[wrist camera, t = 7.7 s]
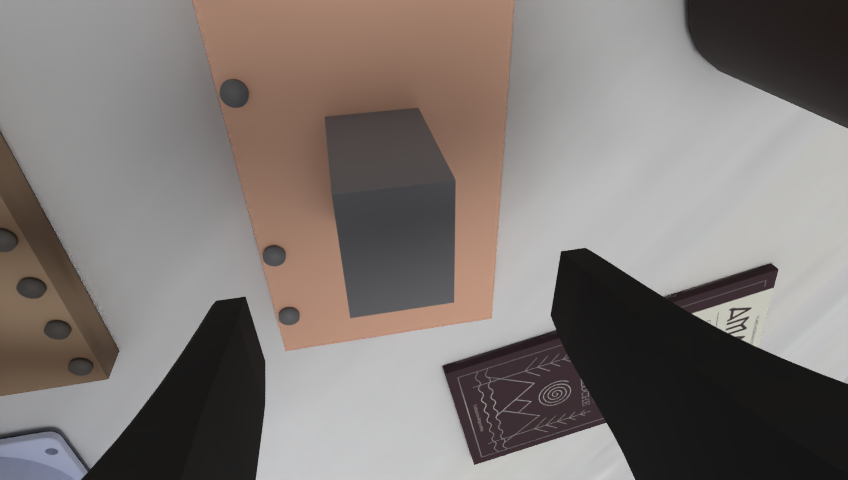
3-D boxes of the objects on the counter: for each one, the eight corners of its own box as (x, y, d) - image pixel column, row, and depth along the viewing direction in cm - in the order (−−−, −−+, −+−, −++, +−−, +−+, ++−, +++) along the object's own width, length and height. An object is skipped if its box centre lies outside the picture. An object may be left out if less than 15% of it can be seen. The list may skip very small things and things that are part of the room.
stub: (482, 296, 24) (532, 412, 19) (286, 325, 22) (281, 459, 17) (505, -123, 14) (618, -128, 9) (175, -114, 13) (90, -113, 8)
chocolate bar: (445, 374, 26) (778, 269, 26) (440, 360, 26) (764, 258, 27) (474, 464, 31) (750, 376, 31) (470, 450, 32) (740, 364, 32)
